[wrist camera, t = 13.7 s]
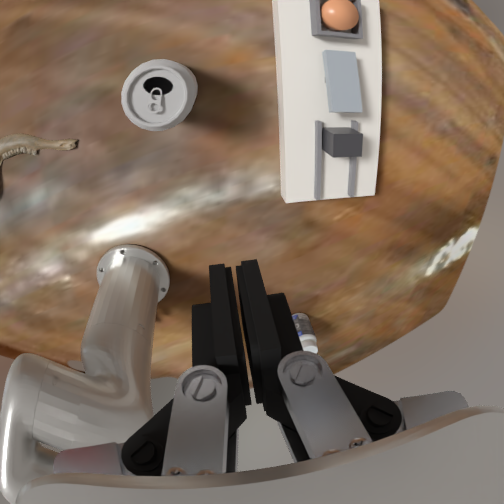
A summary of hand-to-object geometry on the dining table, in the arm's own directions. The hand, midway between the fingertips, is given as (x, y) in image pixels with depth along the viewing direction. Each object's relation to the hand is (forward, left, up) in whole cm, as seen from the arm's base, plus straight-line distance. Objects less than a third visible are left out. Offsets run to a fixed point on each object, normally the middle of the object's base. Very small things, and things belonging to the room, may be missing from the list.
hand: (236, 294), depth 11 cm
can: (+6, +5, -33) cm, 34 cm away
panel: (+4, -16, -33) cm, 37 cm away
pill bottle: (-38, -12, -33) cm, 52 cm away
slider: (-2, -16, -30) cm, 34 cm away
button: (+15, -16, -30) cm, 37 cm away
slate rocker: (+6, -16, -28) cm, 33 cm away
